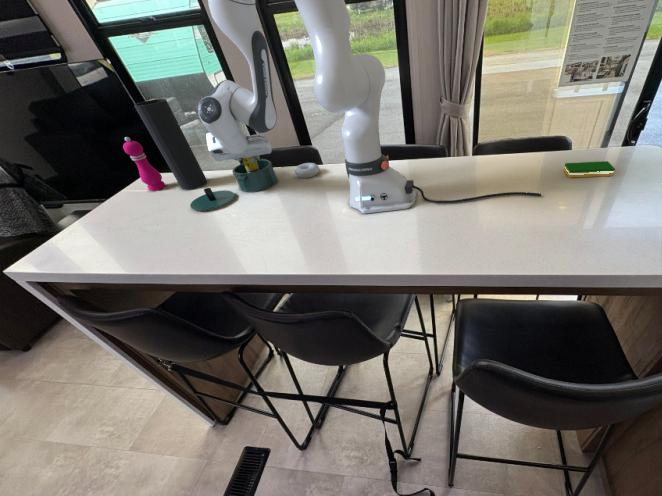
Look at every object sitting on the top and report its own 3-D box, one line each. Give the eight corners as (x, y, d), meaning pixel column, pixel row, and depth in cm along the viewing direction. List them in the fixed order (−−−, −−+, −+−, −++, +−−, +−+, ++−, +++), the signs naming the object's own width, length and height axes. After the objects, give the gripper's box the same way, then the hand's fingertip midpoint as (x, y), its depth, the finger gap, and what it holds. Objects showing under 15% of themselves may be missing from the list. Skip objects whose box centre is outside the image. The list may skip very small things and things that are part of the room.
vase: (192, 179, 138) (149, 99, 117) (212, 179, 136) (172, 98, 116) (176, 190, 131) (127, 106, 110) (197, 190, 129) (151, 105, 108)
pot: (285, 173, 134) (279, 156, 129) (265, 194, 119) (257, 176, 115) (253, 175, 136) (246, 158, 131) (230, 195, 121) (221, 177, 117)
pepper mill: (144, 191, 133) (110, 139, 119) (159, 183, 138) (128, 133, 124) (156, 192, 131) (123, 140, 117) (171, 185, 135) (141, 134, 122)
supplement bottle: (244, 172, 124) (235, 149, 118) (255, 168, 126) (246, 145, 121) (252, 174, 122) (243, 151, 116) (262, 170, 124) (254, 147, 118)
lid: (242, 192, 123) (237, 179, 119) (221, 211, 112) (214, 198, 108) (206, 193, 125) (200, 180, 122) (182, 212, 114) (174, 199, 110)
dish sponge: (613, 176, 106) (615, 168, 104) (568, 178, 107) (570, 170, 106) (605, 167, 111) (607, 160, 109) (563, 169, 113) (564, 162, 111)
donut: (316, 179, 126) (323, 168, 134) (313, 170, 124) (320, 160, 131) (292, 180, 128) (300, 170, 135) (289, 171, 125) (297, 161, 132)
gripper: (262, 125, 109) (275, 147, 122) (201, 134, 107) (220, 155, 121) (266, 143, 108) (278, 163, 122) (204, 152, 107) (223, 171, 120)
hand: (249, 159), depth 121 cm, fingers closed on supplement bottle, 5 cm apart
